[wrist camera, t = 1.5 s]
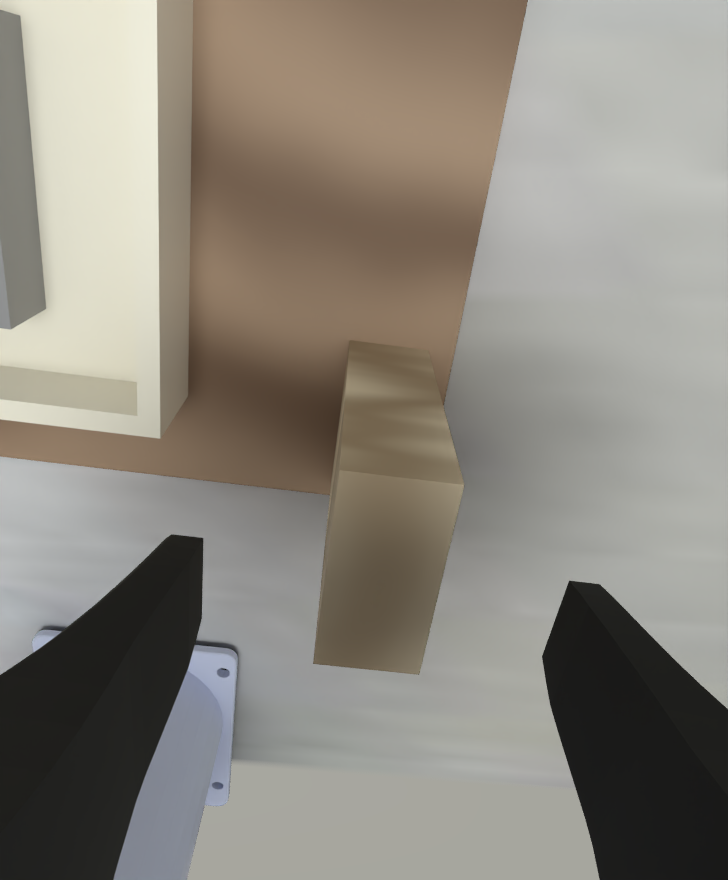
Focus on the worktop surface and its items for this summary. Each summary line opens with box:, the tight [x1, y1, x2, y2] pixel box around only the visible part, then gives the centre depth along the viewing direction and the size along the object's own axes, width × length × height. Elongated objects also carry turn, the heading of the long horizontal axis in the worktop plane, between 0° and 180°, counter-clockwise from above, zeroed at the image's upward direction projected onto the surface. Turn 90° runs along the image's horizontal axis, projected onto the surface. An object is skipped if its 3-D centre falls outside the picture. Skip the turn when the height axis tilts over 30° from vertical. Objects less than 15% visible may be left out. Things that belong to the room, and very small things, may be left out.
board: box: [0, 0, 528, 495], centre depth 17 cm, size 20×20×1 cm
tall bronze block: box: [313, 340, 464, 675], centre depth 17 cm, size 2×5×8 cm, turn 172°
